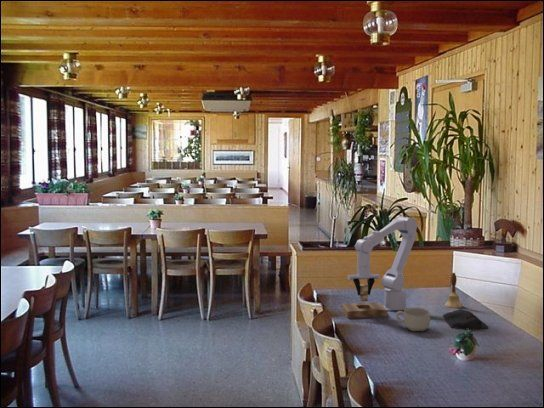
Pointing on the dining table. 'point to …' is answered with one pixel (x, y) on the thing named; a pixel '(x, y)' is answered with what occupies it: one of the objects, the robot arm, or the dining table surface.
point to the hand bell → (453, 295)
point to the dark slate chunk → (463, 320)
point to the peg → (363, 292)
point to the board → (364, 310)
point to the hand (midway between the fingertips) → (363, 294)
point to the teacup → (415, 318)
